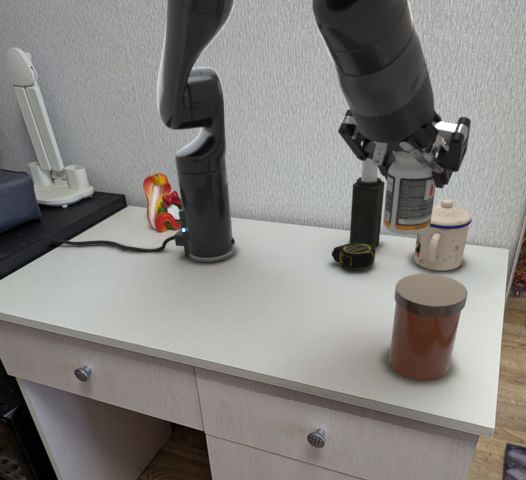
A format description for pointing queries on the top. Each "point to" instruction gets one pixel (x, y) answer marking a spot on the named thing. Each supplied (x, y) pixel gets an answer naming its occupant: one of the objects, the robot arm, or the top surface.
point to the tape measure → (354, 255)
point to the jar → (425, 325)
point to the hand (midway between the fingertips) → (417, 177)
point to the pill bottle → (408, 196)
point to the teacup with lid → (443, 238)
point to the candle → (367, 206)
